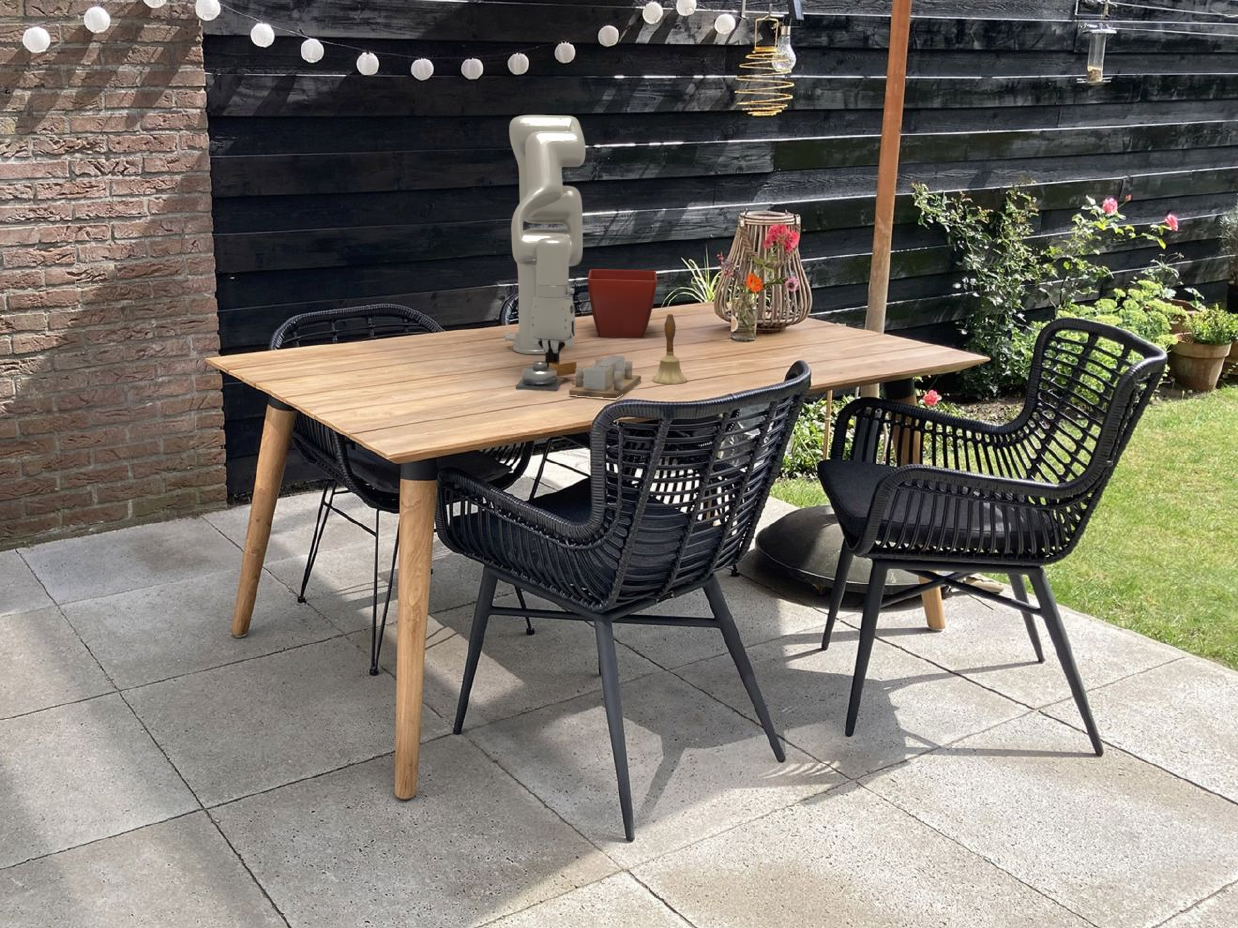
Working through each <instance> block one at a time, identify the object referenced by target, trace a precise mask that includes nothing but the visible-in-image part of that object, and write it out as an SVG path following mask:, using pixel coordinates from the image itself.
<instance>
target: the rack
mask: <svg viewBox="0 0 1238 928" xmlns="http://www.w3.org/2000/svg"><path fill="white" fill-rule="evenodd" d="M603 360H604V358H596V359H595V365H597V364H599V363H600V362H602V361H603ZM584 370H585V369H584V368H581V367H577V368H576V373H575V383H576V384H575V385H574V386H573V387H572V388H570V389H569V391H568V396H569V395H577V396H589V397H603V398H617V397H619V396H621V395H622V394H624V393H625V394H626V393H628V392H629V391H631V390H632V389H633V388H634V386H635V387H636V386H637V385H639V384H640V383H641V381H642V377H641V375H637V374H635V375H634V374H633V361H631V360H626V361H625V372H624V375H623V376H622V372H621V371H615V372H614V382H613V386H612V387H610V388H609V389H608V390H606V391H596V390H585V389H584ZM639 382H640V383H639ZM638 383H639V384H638ZM630 389H631V390H630ZM625 394H624V395H625ZM621 397H622V396H621ZM612 401H614V400H612Z"/></svg>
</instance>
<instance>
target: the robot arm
mask: <svg viewBox="0 0 1238 928" xmlns="http://www.w3.org/2000/svg"><path fill="white" fill-rule="evenodd" d="M508 132H509V134H508V135H509V140H510V144H511V148H512V150H513V151H512V152H513V154H514V156H515V160H516V161H517V165H518V173H519V175H518V177H519V178H518V179H519V186H518V187H519V204H518V205H517V207H516V208H515V211H514V212H513V215H512V218H511V219H512V220H511V229H510V230H511V231H510V232H511V248H512V257H513V259H514V261H515V262H516V264H517V277H518V278H517V279H518V280H517V281H518V287H517V288H518V331H517V332H515V333H513V332H505V333H504V340H505V341H506V342H513V343H515V344H513V346H512V350H513V351H514V352H515V353H518V354H525V355H545V357H544V358H545V360H544V361H546V362H547V367H549V363H550V362H556V361H560V352H561V351H562V349H564V348H565V347H569V346H570V347H571V346H573V345H574V344H575V339H574V337H575V336H576V332H577V331H576V329H577V327H576V314H575V307H574V300H573V297H572V296H570V295H571V294H573V295H574V293H575V288H574V287H571V286H570V283H569V282H570V281H569V280H570V279H569V278H570V277H569V276H570V275H569V271H570V268H569V267H574V266H577V265H579V264H580V263H581V262H582V259H583V251H584V250H583V249H584V248H583V246H584V245H583V240H584V239H583V237H584V235H583V201H582V195H581V193H580V191H579V189H578V188H576V187H574V186H571V185H563V173H562V172H563V171H562V169H563V168H564V167H565V168H573V167H574V168H577V167H581V166H582V165H583V164H584V162H585V158H586V142H585V137H584V133H583V130H582V127H581V124H580V122H579V120H578V119H577V118H576V117H574V116H572V115H551V114H550V115H546V114H525V115H519V116H515V117H513V118H512V120H511V121H510V123H509V130H508ZM524 222H526V223H528V224H529V223H530V224H542V225H543V224H550V225H551V224H561V225H563V226H564V228H529V229H524Z"/></svg>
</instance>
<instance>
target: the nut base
mask: <svg viewBox="0 0 1238 928" xmlns="http://www.w3.org/2000/svg"><path fill="white" fill-rule="evenodd" d="M563 383H564V378H560V377H559V378H558V377H557V381H556V382H555V383H550V384H530V383H525V382H523V377H522V378H521V379H520V380H519V381H518V383H517V384H516V385H515V390H526V391H527V390H528V391H529V390H530V391H547V392H557V391H558V390H559V389H560V387H561V386H562V384H563ZM560 385H561V386H560Z"/></svg>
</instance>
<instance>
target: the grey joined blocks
mask: <svg viewBox="0 0 1238 928" xmlns="http://www.w3.org/2000/svg"><path fill="white" fill-rule="evenodd" d="M625 359H626V356H625V355H617V354H616V355H614V354H612V355H610V356H608V357H607V358H605V359H603V361H602V362H600V363H599V364H597V365H594V364H592V365H590V366H588V367H586V368H585V369H584V375H583V381H584V389H585V390H596V391H606V390H608V389H609V388H610V387H612V386H613V382H614V372H615V371H621V372H622V376H623V375H624V374H625Z"/></svg>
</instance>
